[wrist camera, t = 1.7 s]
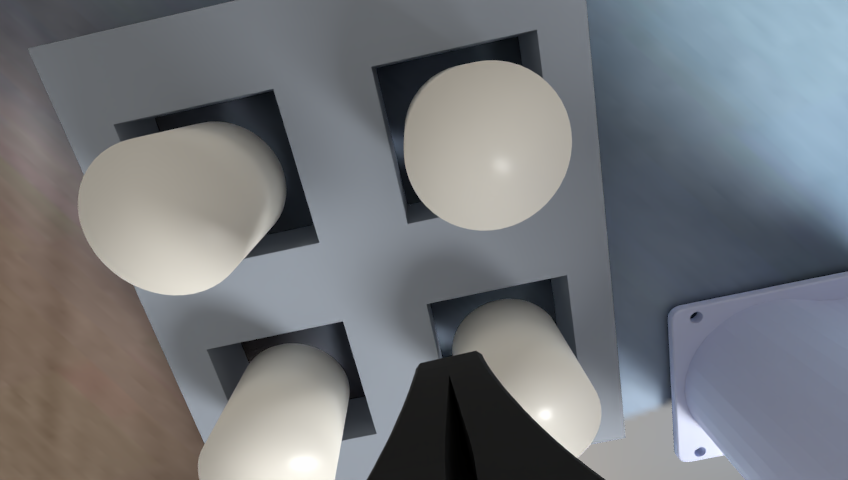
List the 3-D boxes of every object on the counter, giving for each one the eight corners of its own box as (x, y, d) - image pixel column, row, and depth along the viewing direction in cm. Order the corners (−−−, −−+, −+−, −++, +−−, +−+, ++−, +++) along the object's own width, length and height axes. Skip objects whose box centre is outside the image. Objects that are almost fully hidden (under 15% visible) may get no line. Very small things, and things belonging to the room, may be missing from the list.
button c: (333, 333, 17) (313, 405, 14) (361, 422, 19) (350, 510, 15) (226, 355, 17) (177, 432, 14) (261, 442, 19) (225, 535, 15)
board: (552, -57, 16) (579, -80, 13) (601, 397, 21) (625, 437, 19) (82, 52, 16) (26, 48, 14) (254, 466, 22) (235, 513, 20)
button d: (264, 108, 15) (214, 119, 11) (301, 230, 16) (269, 277, 12) (139, 136, 15) (48, 157, 11) (186, 254, 16) (119, 309, 12)
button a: (553, 288, 17) (594, 349, 13) (565, 382, 18) (607, 461, 15) (442, 311, 17) (453, 377, 13) (462, 402, 18) (477, 486, 15)
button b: (521, 51, 14) (561, 42, 11) (538, 179, 16) (580, 212, 12) (391, 80, 15) (386, 81, 11) (419, 205, 16) (423, 245, 12)
